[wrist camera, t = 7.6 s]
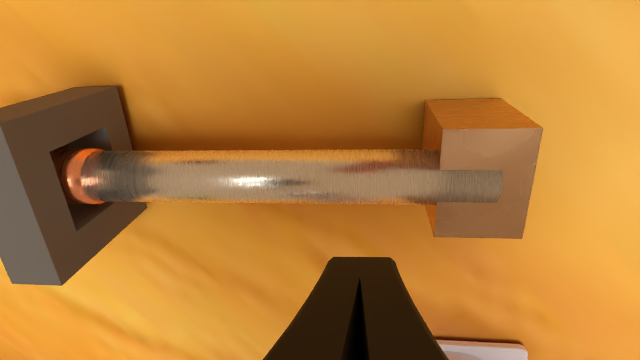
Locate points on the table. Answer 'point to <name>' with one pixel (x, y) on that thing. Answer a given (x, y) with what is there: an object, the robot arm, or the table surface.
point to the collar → (56, 184)
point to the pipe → (343, 172)
